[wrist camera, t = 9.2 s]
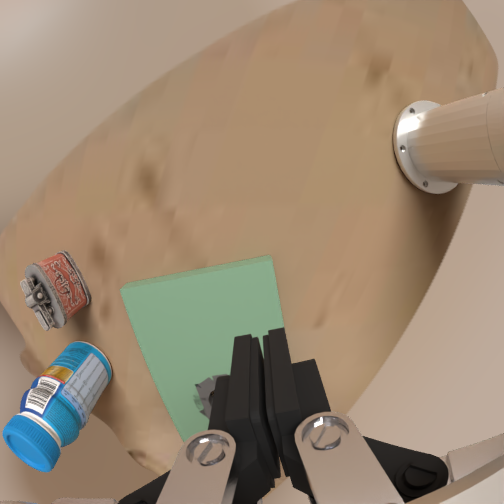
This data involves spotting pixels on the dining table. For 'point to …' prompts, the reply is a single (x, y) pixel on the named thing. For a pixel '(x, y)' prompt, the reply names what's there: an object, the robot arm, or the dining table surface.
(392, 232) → the dining table surface
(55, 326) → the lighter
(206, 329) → the green board
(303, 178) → the dining table surface
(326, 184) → the dining table surface
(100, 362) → the beverage bottle
